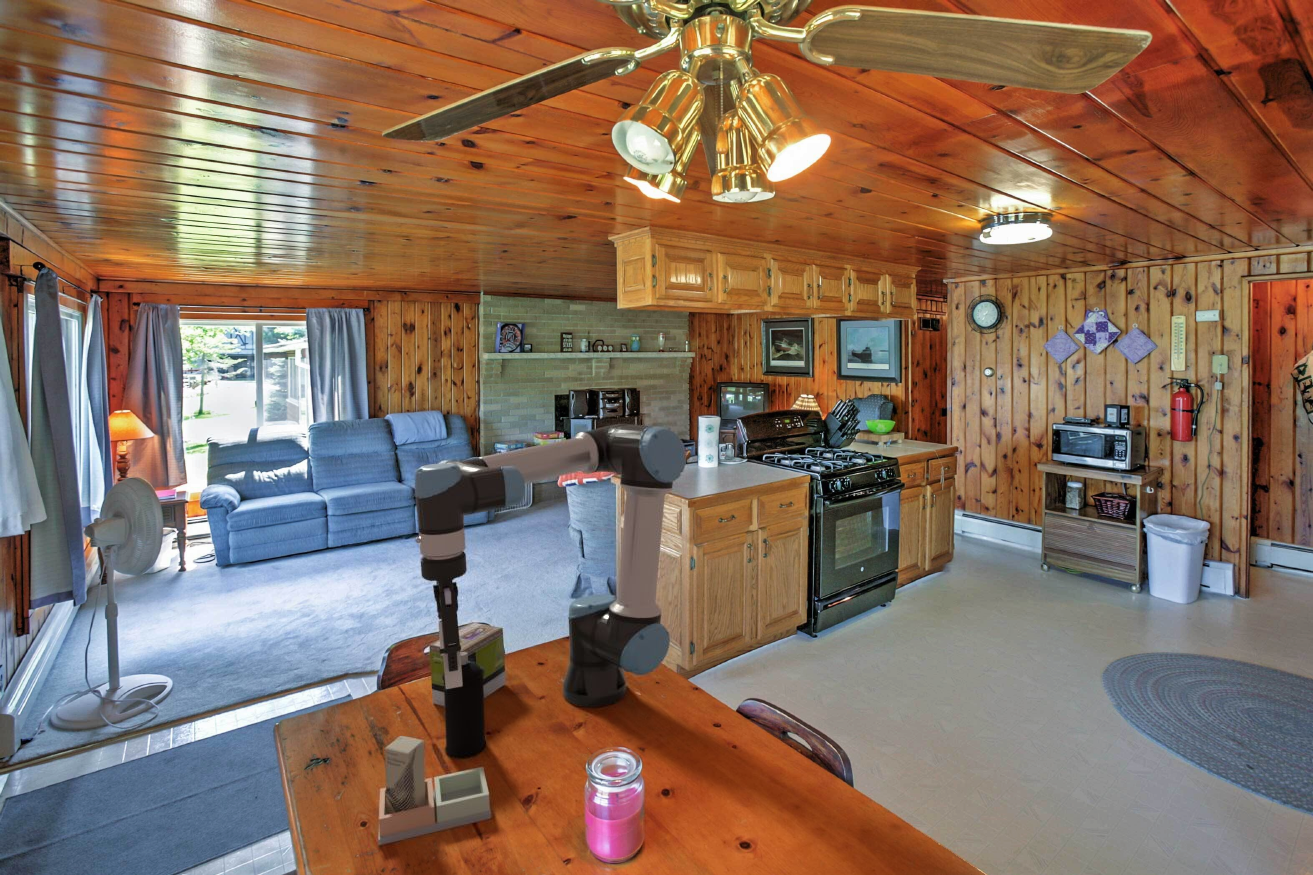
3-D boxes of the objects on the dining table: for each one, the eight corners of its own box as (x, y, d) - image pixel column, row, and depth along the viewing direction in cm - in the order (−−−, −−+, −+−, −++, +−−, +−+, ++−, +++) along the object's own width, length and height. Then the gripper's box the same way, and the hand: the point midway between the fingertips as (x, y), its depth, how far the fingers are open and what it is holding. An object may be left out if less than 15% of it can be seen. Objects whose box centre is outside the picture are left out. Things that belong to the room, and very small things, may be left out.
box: (385, 819, 113) (382, 747, 112) (402, 803, 118) (399, 734, 116) (411, 825, 112) (408, 753, 111) (428, 809, 116) (425, 739, 115)
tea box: (474, 677, 168) (472, 620, 167) (506, 685, 164) (505, 626, 162) (430, 704, 155) (428, 642, 153) (464, 713, 150) (461, 650, 149)
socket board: (484, 784, 124) (483, 764, 124) (491, 818, 115) (490, 796, 115) (380, 807, 118) (378, 786, 118) (378, 845, 109) (377, 822, 108)
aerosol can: (475, 761, 132) (471, 664, 130) (437, 756, 134) (433, 660, 131) (493, 738, 140) (490, 646, 138) (457, 734, 142) (454, 643, 139)
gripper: (418, 538, 126) (426, 645, 129) (422, 578, 103) (432, 707, 106) (459, 533, 129) (466, 638, 131) (472, 571, 106) (480, 697, 108)
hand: (451, 669), depth 118 cm, fingers open, 13 cm apart
